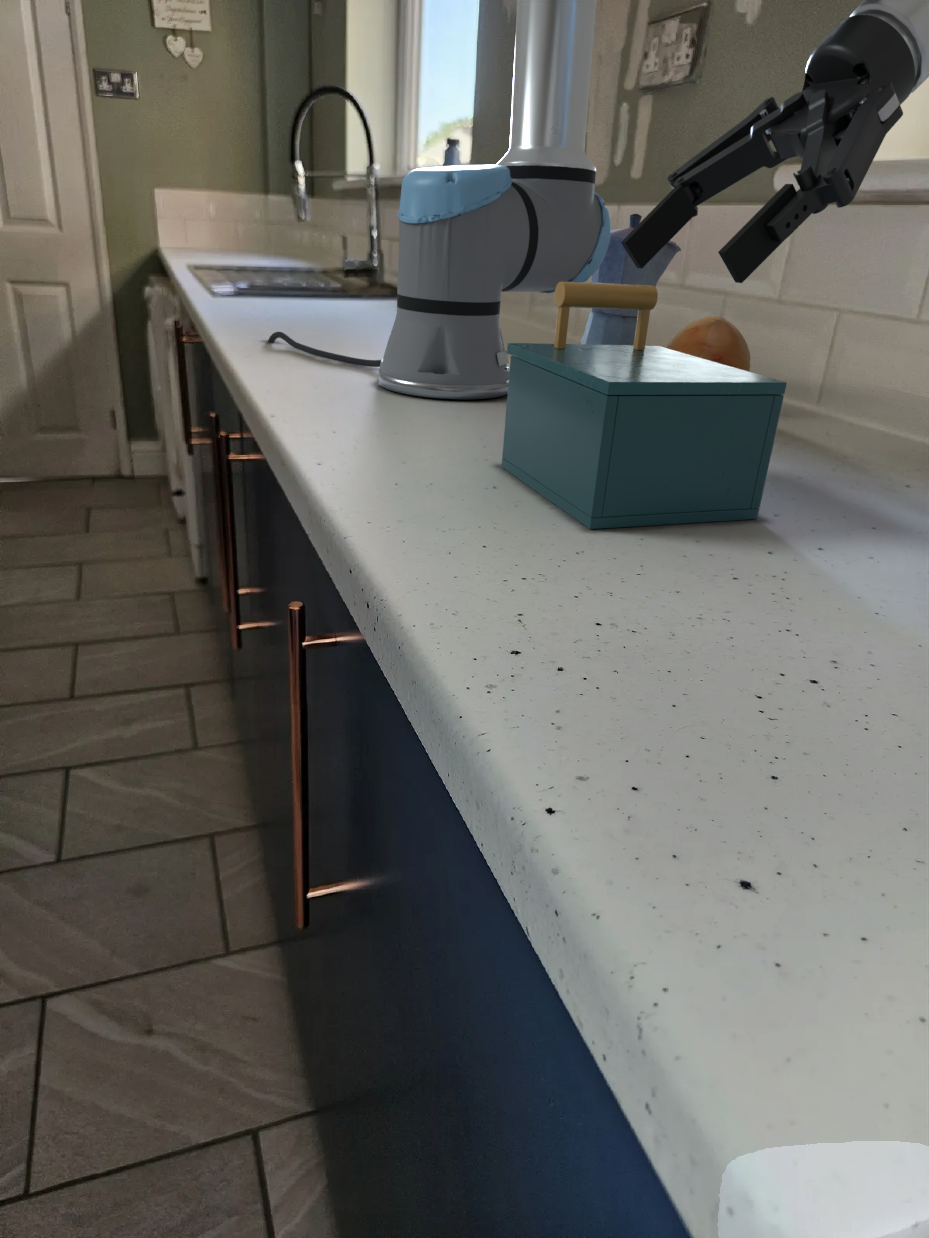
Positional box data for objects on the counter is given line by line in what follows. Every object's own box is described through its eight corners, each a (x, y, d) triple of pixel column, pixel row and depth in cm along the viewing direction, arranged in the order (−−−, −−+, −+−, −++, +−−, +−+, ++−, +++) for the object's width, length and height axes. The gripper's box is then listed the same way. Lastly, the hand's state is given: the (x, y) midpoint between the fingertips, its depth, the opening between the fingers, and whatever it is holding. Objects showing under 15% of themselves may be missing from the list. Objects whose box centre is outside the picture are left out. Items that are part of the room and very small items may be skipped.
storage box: (501, 466, 71) (510, 355, 67) (645, 462, 76) (661, 357, 72) (589, 529, 58) (607, 396, 54) (757, 519, 63) (784, 395, 59)
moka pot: (660, 385, 113) (687, 216, 105) (543, 373, 116) (560, 207, 107) (660, 374, 122) (685, 217, 113) (551, 364, 124) (567, 209, 116)
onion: (644, 396, 105) (657, 309, 101) (723, 399, 106) (739, 314, 102) (670, 413, 96) (685, 318, 92) (755, 417, 98) (774, 323, 94)
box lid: (506, 353, 68) (512, 277, 66) (656, 355, 73) (667, 284, 70) (607, 395, 54) (620, 300, 52) (784, 394, 59) (803, 307, 56)
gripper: (752, 35, 74) (575, 217, 75) (1008, -26, 53) (757, 227, 54) (789, 113, 78) (620, 284, 79) (1040, 85, 57) (806, 318, 58)
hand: (675, 261), depth 67 cm, fingers open, 13 cm apart
